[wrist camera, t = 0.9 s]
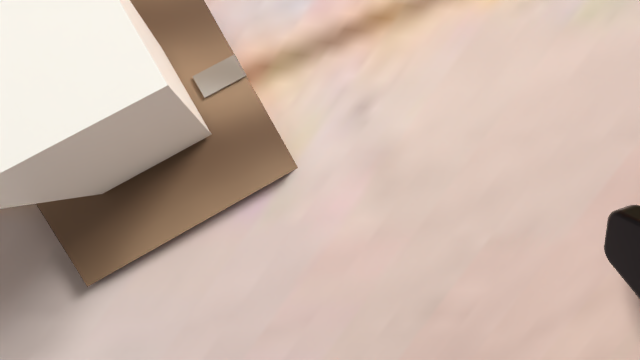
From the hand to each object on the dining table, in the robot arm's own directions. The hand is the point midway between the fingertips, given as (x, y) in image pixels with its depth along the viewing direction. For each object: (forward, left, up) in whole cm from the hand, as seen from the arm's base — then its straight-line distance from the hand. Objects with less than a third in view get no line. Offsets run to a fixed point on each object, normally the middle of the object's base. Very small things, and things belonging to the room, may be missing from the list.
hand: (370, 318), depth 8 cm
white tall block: (+4, +7, -14) cm, 16 cm away
